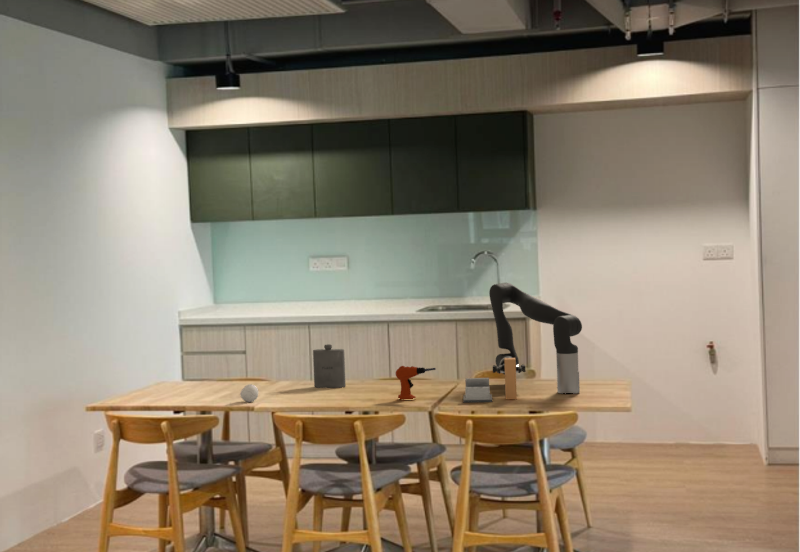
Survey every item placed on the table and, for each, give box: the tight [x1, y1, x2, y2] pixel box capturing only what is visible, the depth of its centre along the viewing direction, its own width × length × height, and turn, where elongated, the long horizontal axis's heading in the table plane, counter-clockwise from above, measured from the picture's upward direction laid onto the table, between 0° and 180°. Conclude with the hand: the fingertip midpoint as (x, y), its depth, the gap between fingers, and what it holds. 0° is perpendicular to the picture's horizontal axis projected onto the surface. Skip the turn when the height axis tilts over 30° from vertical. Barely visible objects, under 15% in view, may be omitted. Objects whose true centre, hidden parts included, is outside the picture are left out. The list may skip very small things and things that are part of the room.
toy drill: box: [395, 365, 437, 399], centre depth 454 cm, size 5×19×15 cm, turn 70°
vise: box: [462, 386, 493, 404], centre depth 449 cm, size 12×14×6 cm
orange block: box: [504, 358, 518, 400], centre depth 448 cm, size 4×4×17 cm
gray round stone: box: [239, 383, 259, 403], centre depth 464 cm, size 8×8×8 cm
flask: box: [312, 343, 346, 389], centre depth 499 cm, size 15×6×20 cm, turn 78°
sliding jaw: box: [465, 377, 490, 388], centre depth 454 cm, size 10×3×7 cm, turn 86°
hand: (509, 370), depth 459 cm, fingers open, 8 cm apart
